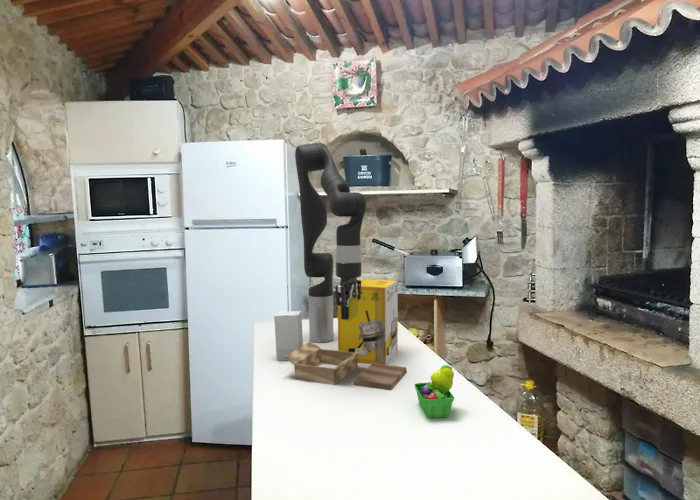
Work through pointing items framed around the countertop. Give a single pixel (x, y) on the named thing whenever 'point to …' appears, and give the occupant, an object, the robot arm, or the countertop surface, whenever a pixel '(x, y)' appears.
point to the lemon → (352, 308)
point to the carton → (314, 355)
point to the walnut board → (380, 376)
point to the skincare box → (288, 333)
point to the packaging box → (372, 323)
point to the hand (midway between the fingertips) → (349, 317)
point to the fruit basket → (437, 393)
